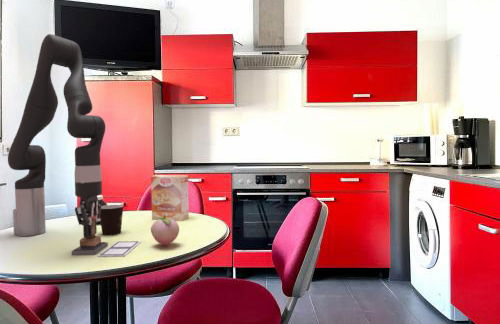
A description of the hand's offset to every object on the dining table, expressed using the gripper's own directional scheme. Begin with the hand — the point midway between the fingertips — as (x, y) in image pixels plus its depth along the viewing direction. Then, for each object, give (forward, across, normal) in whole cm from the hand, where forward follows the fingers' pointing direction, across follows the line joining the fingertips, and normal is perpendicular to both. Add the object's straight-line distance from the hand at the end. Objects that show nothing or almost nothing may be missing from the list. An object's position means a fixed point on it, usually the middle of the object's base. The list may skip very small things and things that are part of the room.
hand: (90, 235), depth 106 cm
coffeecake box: (+5, -47, +14) cm, 49 cm away
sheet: (+5, -1, +9) cm, 10 cm away
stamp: (+3, 0, 0) cm, 3 cm away
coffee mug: (+5, -23, -2) cm, 24 cm away
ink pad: (+5, 0, 0) cm, 5 cm away
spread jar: (+5, -41, -14) cm, 44 cm away
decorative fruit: (+5, -4, +22) cm, 23 cm away
